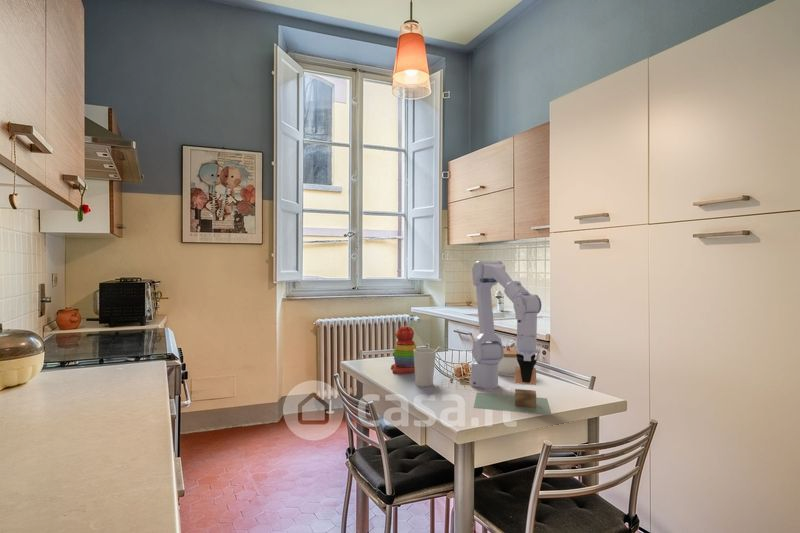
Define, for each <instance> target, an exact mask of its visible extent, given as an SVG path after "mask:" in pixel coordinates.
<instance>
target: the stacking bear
mask: <svg viewBox="0 0 800 533" xmlns="http://www.w3.org/2000/svg"><path fill="white" fill-rule="evenodd" d="M414 336H415V332H414V329H413V327H411V326H407V325H403V326H401V327H399V329H397V331H396V332H395V338H396V339H397V341H396V343H395V346H394V351H393V360H394V363H393V364H391V367H390V369H391V370H392V373H393V374H396V375H406V374H407V375H408V374H412V373H414V374H415V366H414V351H413V350H414V349H418V347H417V344H416V343H415V341H414V340H413V339H414Z"/></svg>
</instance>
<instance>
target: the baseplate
mask: <svg viewBox="0 0 800 533" xmlns="http://www.w3.org/2000/svg"><path fill="white" fill-rule="evenodd" d="M473 408H474V409H482V410H493V411H502V412H503V411H504V412H515V413H525V414H526V413H527V414H535V415H545V416H546V415H548V416H551V415H553V414H552V411H551V408H550V404H549V401H548V398H546V397H537V396H536V408H527V407H516V406H515V395H512V394H501V393H500V394H498V393H487V392H476V395H475V399H474V404H473Z"/></svg>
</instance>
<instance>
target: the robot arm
mask: <svg viewBox="0 0 800 533" xmlns="http://www.w3.org/2000/svg"><path fill="white" fill-rule="evenodd" d="M471 272H472V275H471V276H472V283H473V285H474V286H475V292H476V306H477V316H478V328H479V330H478V331H479V334H478V335H477V336H475V338H474V339H473V340H472V350H471V354H472V357H473V359H474V360H472V361H471V365H470V366H471V367H470V387H472V388H473V387H474V388H475V387H476V388H483V389H496V388H498V387H499V374H498V363H500V360H501V359H502V358H503V356H504V348H505V347H504V346H503V342H502V338H501V337H499V336H498V334H496V333H495V332H496V331H495V324H494V323H495V322H494V313H493V312H494V310H493V300H492V288H493V287H494V286H496V285H497V284H499V285H501V287H503V288H504V291H503V292H504V294H505V296H506V297H507V298H508V299H509V300H510V301H511V303H512V304H513V310H514V313H515V320H516V348H515V349H516V352H517V353H519V354H516V356H517V361H518V363H519V366H520V370H521V377H522V382H527V383H530V380H531V376H532V371H533V368H535V366H536V364H537V359H535V358H536V354H540V353H541V349H537V338H538V337H537V334H538V332H537V329H538V314H539V313H540V312H541V309H542V306H543V305H542V301H541V298H540V297H539V295H538V294H532V293H530V292H529V290H527V289H526V287H524V286H523V285H522V282H521V281H517V280H513V278H511V276H510V275H509V274H508V272H507V271H506V265H505V264H504V263H503V262H502V261H501V260H498V261H493V260H492V261H490V260H487V261H485V260H484V261H483V260H482V261H481V260H476V261H475V262H474V263H473V266H472V268H471ZM485 342H486V343H485Z"/></svg>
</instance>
